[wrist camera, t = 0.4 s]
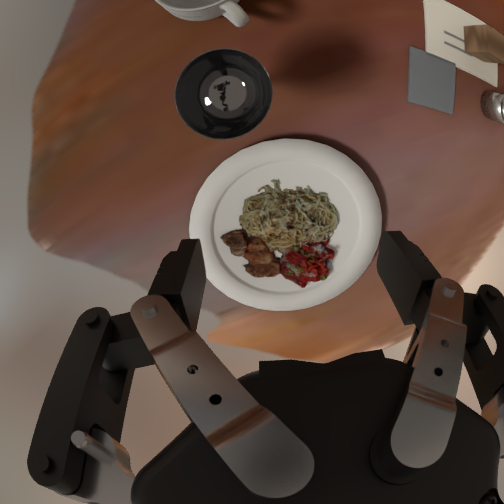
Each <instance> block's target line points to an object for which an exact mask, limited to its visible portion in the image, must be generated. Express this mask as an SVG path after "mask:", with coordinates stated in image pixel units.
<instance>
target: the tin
mask: <svg viewBox="0 0 504 504" xmlns="http://www.w3.org/2000/svg"><path fill="white" fill-rule="evenodd" d="M481 109H482V112H483V114H484V115H485V116H486V117H487V118H489V119H492V120H495V121H498V122H501V123H504V94H501V93H496V92H492V91H485V92H484V93H483V94H482V96H481Z"/></svg>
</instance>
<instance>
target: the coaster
mask: <svg viewBox="0 0 504 504" xmlns="http://www.w3.org/2000/svg"><path fill="white" fill-rule="evenodd" d="M427 53H428V54H427ZM430 55H431V54H430V53H429V52H426V51H423V50H420V49H418V48H415V47H412V46H409V77H408V94H407V102H411V103H415V104H418V105H422V106H426V107H429V108H432V109H436V110H439V111H442V112H445V113H448V114H451V115H453V108H454V96H455V79H456V64H455V63H453V64H450V63H448V60H447V61H446V59H444V61H443V58H441V57H439V56H436V55H435V56H434V54H432V55H433V56H432V55H431V56H430ZM436 57H437V58H439V59H437V58H436ZM445 61H446V62H445ZM450 62H451V61H450ZM454 65H455V66H454Z"/></svg>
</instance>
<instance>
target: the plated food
mask: <svg viewBox="0 0 504 504" xmlns="http://www.w3.org/2000/svg"><path fill="white" fill-rule="evenodd" d="M381 229H382V213H381V207H380V202H379V198H378V196H377V193H376V191H375V189H374V186H373V184H372V182H371V181H370V180H369V178H368V177H367V175H366V174H365V173H364V171H363V170H362V169H361V168H360V167H359V166H358V165H357V164H356V163H355V162H353V161H352V160H351V159H350V158H349V157H348V156H346V155H345V154H343V153H341V152H339V151H337V150H336V149H334V148H332V147H330V146H328V145H325V144H321V143H318V142H314V141H310V140H306V139H288V138H284V139H277V140H271V141H264V142H261V143H258V144H255V145H253V146H250V147H247V148H245V149H242V150H240V151H239V152H237V153H236V154H234V155H233V156H231V157H229V158H228V159H226V160H225V161H223V162H222V163H221V164H220V165H219V166H218V167H217V168H216V169H215V170H214V171H213V172H212V173H211V174H210V175H209V176H208V178H207V179H206V181H205V183H204V184H203V186H202V187H201V189H200V190H199V192H198V194H197V197H196V199H195V202H194V205H193V208H192V211H191V217H190V226H189V233H190V239H198V238H199V239H200V242H201V246H202V252H203V258H204V263H205V269H206V277H207V278H208V279H209V281H210V282H211V283H212V284H213V285H214V286H215V287H216V288H217V289H219V290H220V291H222V292H223V293H224V294H226V295H227V296H228V297H230V298H232V299H234V300H236V301H238V302H240V303H242V304H245V305H248V306H252V307H255V308H258V309H265V310H272V311H291V310H298V309H304V308H308V307H312V306H315V305H318V304H321V303H323V302H326V301H328V300H330V299H332V298H334V297H336V296H337V295H339V294H340V293H342V292H343V291H345V290H346V289H347V288H349V287H350V286H351V285H352V284H353V283H354V282H355V281H356V280H357V279H358V278H359V277H360V276H361V275H362V274H363V272H364V271H365V270H366V268H367V267H368V266H369V264H370V263H371V261H372V259H373V256H374V254H375V252H376V250H377V248H378V244H379V240H380V236H381Z"/></svg>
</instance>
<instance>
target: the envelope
mask: <svg viewBox="0 0 504 504" xmlns="http://www.w3.org/2000/svg"><path fill="white" fill-rule="evenodd" d="M423 3H424V16H425V41H426V52H429V53H430V54H431V55H432V54H434V56H435V55H436V56H439V57H441V58H443V61H444V59H446V61H447V60H448V63H450V64H453V63H455V64H456V67H457V68H459V69H461V70H463V71H465V72H468V73H470V74H472V75H474V76H476V77H478V78H480V79H482V80H484V81H485V82H487V83H489V84H491V85H493V86H495V87H497V79H498V63H488V62H483V61H481V60H479V59H477V58H476V57H474V56H472V55H470V54H468V53H466V52H465V48H464V27H463V26H472V25H484V24H485V23H484V22H482V21H480V20H479V19H477V18H475V17H474V16H472V15H470V14H469V13H467V12H465V11H463V10H462V9H460V8H458V7H456V6H454V5H452V4H450V3H448V2H446V1H444V0H423ZM427 54H428V53H427ZM431 55H430V56H431ZM432 56H433V55H432ZM436 58H437V57H436ZM437 59H439V58H437ZM446 61H445V62H446ZM450 61H451V62H450ZM454 66H455V65H454Z"/></svg>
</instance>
